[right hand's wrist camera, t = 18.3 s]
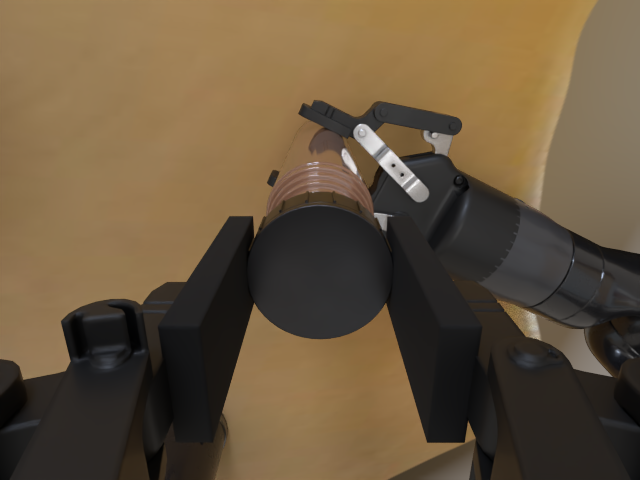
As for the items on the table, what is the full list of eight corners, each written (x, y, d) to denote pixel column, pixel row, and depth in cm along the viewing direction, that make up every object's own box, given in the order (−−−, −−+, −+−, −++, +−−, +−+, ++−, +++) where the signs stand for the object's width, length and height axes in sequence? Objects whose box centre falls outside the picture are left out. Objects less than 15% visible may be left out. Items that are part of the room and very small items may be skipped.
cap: (355, 331, 15) (359, 359, 14) (234, 290, 15) (224, 313, 13) (410, 219, 14) (421, 237, 12) (278, 168, 13) (273, 180, 12)
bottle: (344, 116, 36) (392, 189, 12) (348, 170, 38) (396, 326, 14) (290, 121, 36) (234, 202, 13) (296, 174, 38) (256, 337, 14)
